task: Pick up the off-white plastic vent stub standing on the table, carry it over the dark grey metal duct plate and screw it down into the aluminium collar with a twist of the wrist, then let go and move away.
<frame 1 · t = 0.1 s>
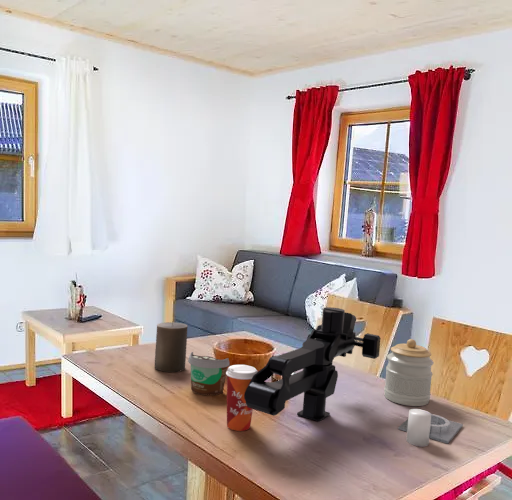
hand: (358, 336, 158), 17 cm above the table, tool horizontal, fingers open, 9 cm apart
paper cup: (238, 426, 128), on the table
vent stub: (417, 441, 126), on the table
food container: (203, 393, 150), on the table
duct plate: (431, 427, 136), on the table
jar: (406, 399, 156), on the table
pillar candle: (169, 368, 170), on the table
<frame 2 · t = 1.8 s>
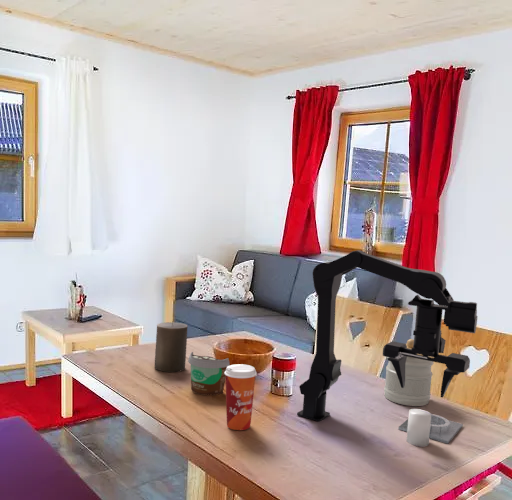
hand: (422, 392, 126), 12 cm above the table, tool pointing down, fingers open, 9 cm apart
nothing on the table moved.
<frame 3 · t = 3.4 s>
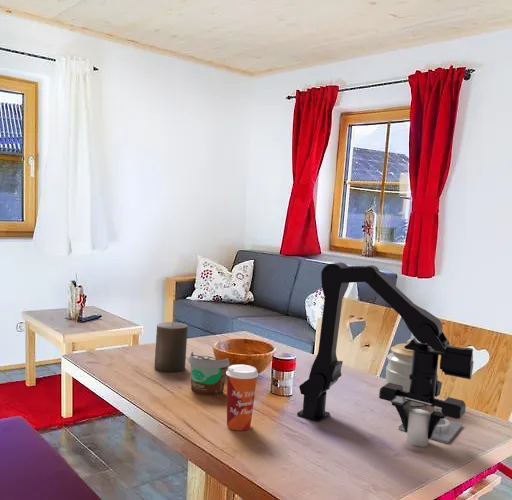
hand: (418, 435, 126), 2 cm above the table, tool pointing down, fingers closed on vent stub, 5 cm apart
vent stub: (417, 441, 126), on the table, touching gripper
everything else where it was.
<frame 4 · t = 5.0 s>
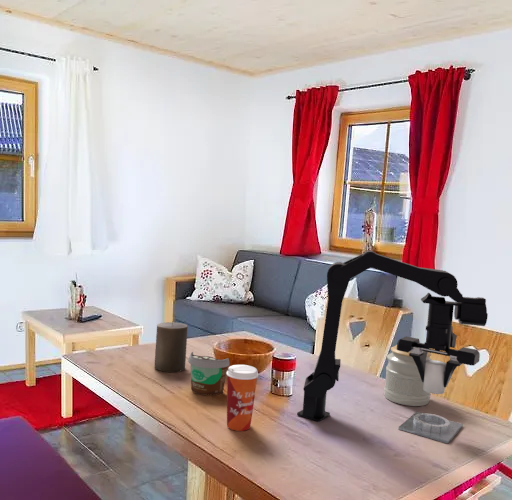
hand: (434, 384, 133), 12 cm above the table, tool pointing down, fingers closed on vent stub, 5 cm apart
vent stub: (433, 390, 133), point 10 cm above the table, touching gripper
everything else where it was.
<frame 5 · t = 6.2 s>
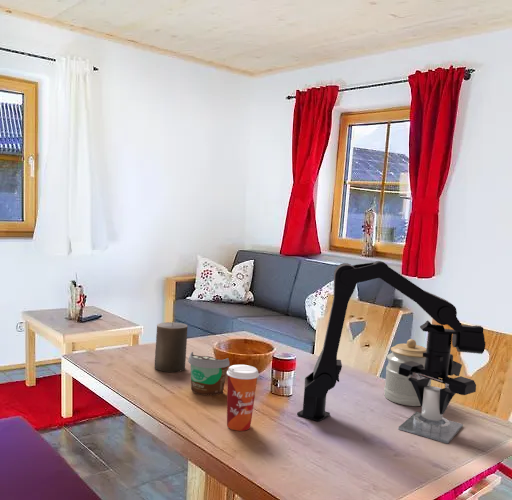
hand: (432, 410, 135), 4 cm above the table, tool pointing down, fingers closed on vent stub, 5 cm apart
vent stub: (431, 416, 135), point 3 cm above the table, touching gripper
everything else where it was.
when the fingers open (3 cm above the table, at t = 6.9 s): vent stub stays where it is, resting on duct plate.
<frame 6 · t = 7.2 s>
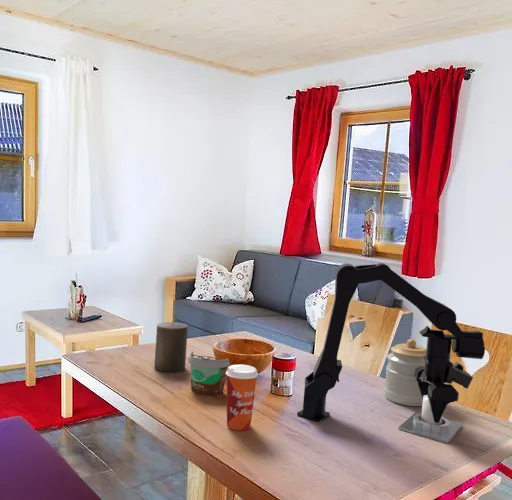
hand: (432, 415, 135), 3 cm above the table, tool pointing down, fingers open, 8 cm apart
vent stub: (431, 425, 135), point 1 cm above the table, touching duct plate
everything else where it was.
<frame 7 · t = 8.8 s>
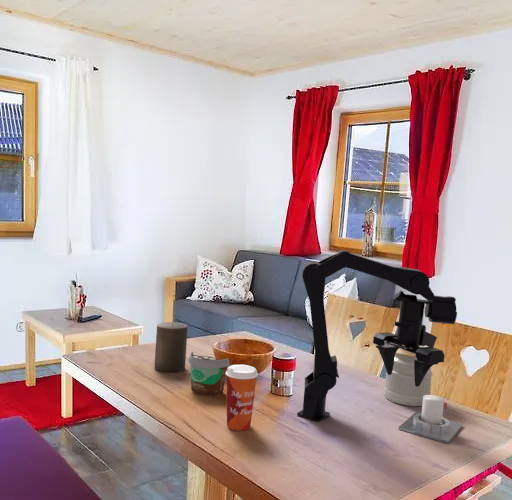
hand: (403, 380, 136), 11 cm above the table, tool pointing down, fingers open, 9 cm apart
nothing on the table moved.
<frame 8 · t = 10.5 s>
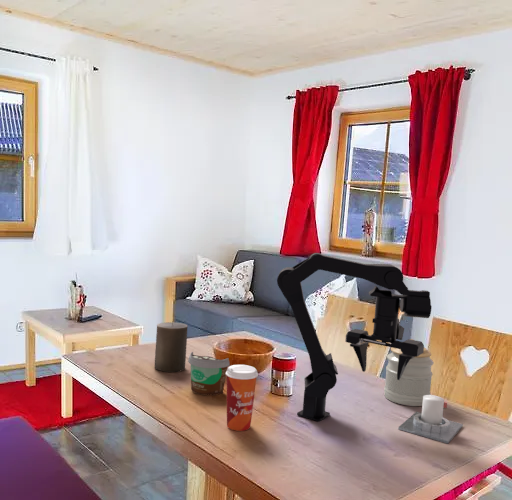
hand: (381, 375, 136), 12 cm above the table, tool pointing down, fingers open, 9 cm apart
nothing on the table moved.
at the end: vent stub 0.0 cm off-centre on the duct plate, point 0.6 cm above the duct plate's base; vent stub tilted 0°; the gripper is holding nothing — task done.
